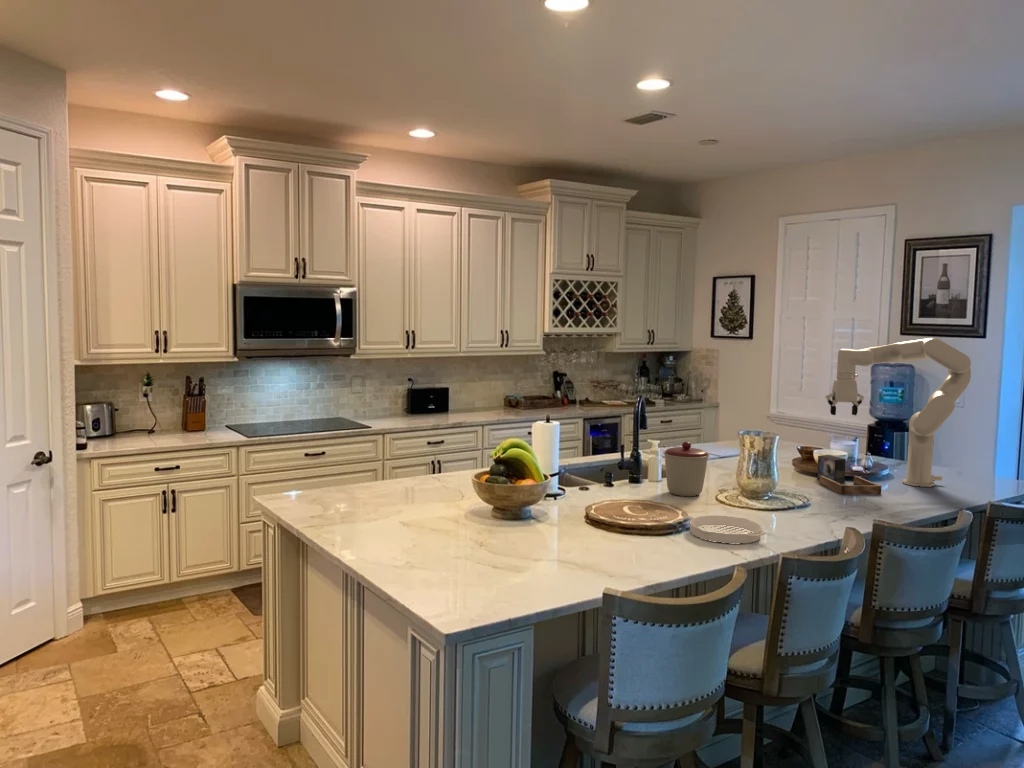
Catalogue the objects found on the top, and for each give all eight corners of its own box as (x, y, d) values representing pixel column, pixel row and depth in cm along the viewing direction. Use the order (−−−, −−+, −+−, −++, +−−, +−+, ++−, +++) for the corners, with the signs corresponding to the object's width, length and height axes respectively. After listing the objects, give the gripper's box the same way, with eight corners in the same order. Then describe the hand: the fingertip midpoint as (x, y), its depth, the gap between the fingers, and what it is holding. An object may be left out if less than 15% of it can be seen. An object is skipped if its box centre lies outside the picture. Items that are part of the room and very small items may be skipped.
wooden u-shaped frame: (856, 483, 335) (856, 475, 335) (880, 494, 315) (881, 486, 315) (819, 483, 334) (819, 475, 334) (841, 494, 314) (842, 485, 314)
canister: (684, 501, 298) (686, 447, 296) (652, 491, 313) (654, 440, 311) (717, 496, 307) (719, 443, 306) (684, 487, 323) (686, 437, 321)
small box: (815, 478, 345) (817, 455, 344) (827, 477, 348) (828, 454, 347) (833, 483, 335) (834, 459, 334) (845, 482, 338) (846, 458, 337)
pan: (740, 552, 235) (740, 540, 234) (634, 523, 265) (634, 513, 264) (781, 537, 251) (781, 526, 251) (676, 512, 281) (677, 502, 281)
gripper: (860, 376, 349) (858, 414, 351) (823, 375, 348) (821, 413, 350) (869, 377, 342) (866, 416, 343) (830, 377, 341) (828, 415, 342)
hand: (843, 414), depth 346 cm, fingers open, 9 cm apart
